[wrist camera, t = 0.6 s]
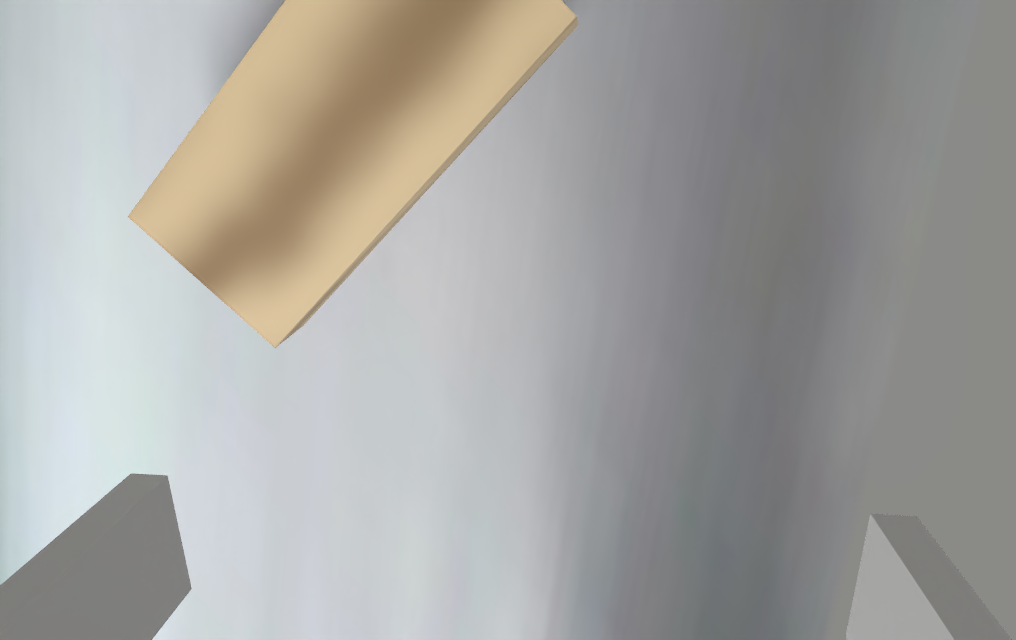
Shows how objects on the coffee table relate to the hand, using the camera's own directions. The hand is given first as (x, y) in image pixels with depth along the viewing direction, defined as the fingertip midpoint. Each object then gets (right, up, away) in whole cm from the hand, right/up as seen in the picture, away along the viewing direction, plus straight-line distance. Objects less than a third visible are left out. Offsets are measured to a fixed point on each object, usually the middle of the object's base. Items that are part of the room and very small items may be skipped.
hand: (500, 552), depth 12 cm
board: (-6, +13, +15) cm, 21 cm away
